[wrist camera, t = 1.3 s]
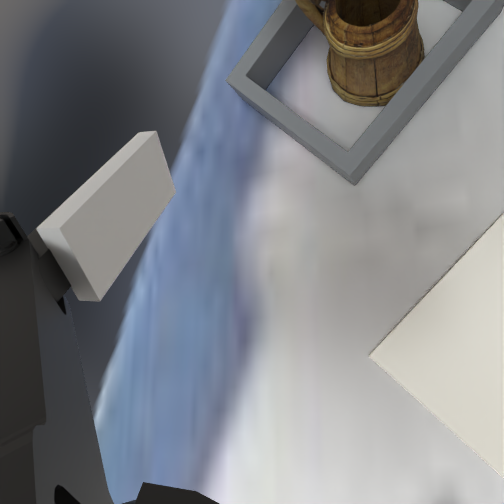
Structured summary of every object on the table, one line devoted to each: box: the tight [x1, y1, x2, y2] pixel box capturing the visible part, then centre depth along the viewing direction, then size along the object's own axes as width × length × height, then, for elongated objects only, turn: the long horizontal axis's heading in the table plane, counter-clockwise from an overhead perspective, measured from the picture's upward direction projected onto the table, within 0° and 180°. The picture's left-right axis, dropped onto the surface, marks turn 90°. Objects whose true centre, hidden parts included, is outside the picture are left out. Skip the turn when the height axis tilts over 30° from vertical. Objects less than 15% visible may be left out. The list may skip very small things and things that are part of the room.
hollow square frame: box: [225, 0, 504, 185], centre depth 38 cm, size 20×16×5 cm
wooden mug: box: [295, 0, 425, 106], centre depth 32 cm, size 9×14×18 cm, turn 63°
